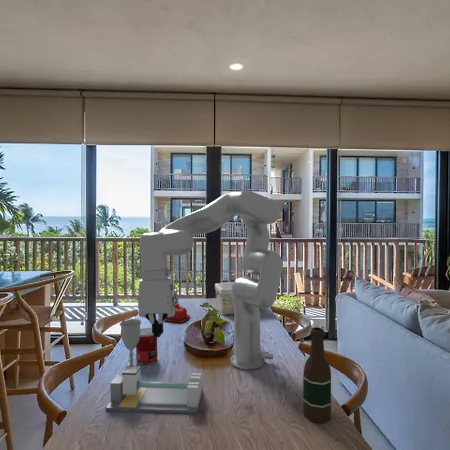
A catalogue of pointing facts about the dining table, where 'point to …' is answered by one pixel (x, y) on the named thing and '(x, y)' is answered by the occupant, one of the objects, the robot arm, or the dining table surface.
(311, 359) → the beer bottle
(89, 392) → the dining table surface
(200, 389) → the cable rig
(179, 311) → the butter dish
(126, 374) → the sleeve
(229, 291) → the storage basket
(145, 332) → the canned food
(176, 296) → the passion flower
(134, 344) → the chalice
